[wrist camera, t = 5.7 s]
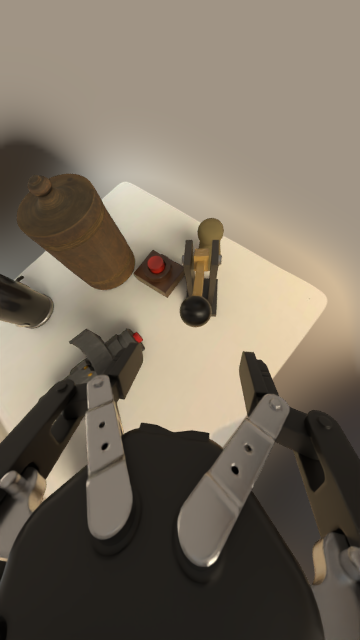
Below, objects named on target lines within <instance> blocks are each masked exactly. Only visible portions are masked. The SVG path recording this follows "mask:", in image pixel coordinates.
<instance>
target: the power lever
mask: <svg viewBox="0 0 360 640" xmlns="http://www.w3.org/2000/svg"><path fill="white" fill-rule="evenodd" d="M208 262H209V249H195V253H194V271H196V274H195V281H194V287H193V294H192V296H190V297H188V298H186V299H185V300H184V301H183V302H182V304H181V307H180V316H181V319H182V320H183V322H184V323H185V324H187V325H188V326H191V327H200V326H203V325H204V324H206V323H207V322H208V321H209V319H210V317H211V313H212V310H211V306H210V303H209V302H208V301H207V300H206V299H205V298H204V297H202V292H203V280H204V271H208Z"/></svg>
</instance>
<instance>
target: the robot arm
mask: <svg viewBox="0 0 360 640" xmlns="http://www.w3.org/2000/svg"><path fill="white" fill-rule="evenodd" d="M23 278H24V276H20V277H19V278H17V279H16V281H14V280H12V279H10V278H8V277H5V276H3V275H1V274H0V321H4V322H8V323H12V324H16V326H19V327H27V328H37V327H40V326H41V325H43V324H44V323H45V322H47V320H48V319H49V318H50V316H51V314H52V312H53V302H52V300H51V299H50V298H49V297H48V296H46V295H44V294H41V293H39V292H37V291H35V290H33V289H31V288H30V287H29V286H27V285H25V284H23V283H21V282H19V281H20V280H22V279H23ZM142 363H143V354H142V348H141V343H138V342H130V343H129V345H128V346H127V348H123V349H121V350H120V351H118V353H117V354H116V355H115V357H114V358H113V359H112V361H111V362H110V363H109V365H108V366H107V368H106V369H105V370H104V372H103V373H102V374H101V375H97V376H95V377H93V378H92V379H90V380H89V382H88V383H82V384H76V385H75V383H74V381H73V380H71V379H66V380H62V381H60V382H58V383H56V384H55V385H54V386H53V387H52V388H51V389H50V390H49V391H48V392H47V393H46V394H45V395H44V396H43V398H42V399H41V400H40V401H39V402H38V403H37V404H36V405H35V406H34V407H33V408H32V410H31V411H30V412H29V413H28V414H27V415H26V416H25V417H24V418H23V419H22V420H21V421H20V423H19V424H18V425H17V426H16V427H15V428H14V429H13V430H12V431H11V432H10V433H9V435H8V436H7V437H6V438H5V439H4V440H3V441H2V442H1V443H0V560H2V561H7V563H6V566H5V569H4V573H3V576H2V579H1V582H0V640H360V459H359V458H358V456H357V454H356V453H355V451H354V449H353V448H352V446H351V444H350V442H349V441H348V439H347V438H346V436H345V434H344V433H343V431H342V429H341V427H340V426H339V424H338V423H337V422H336V421H335V420H334V419H333V418H332V417H331V416H329V415H328V414H326V413H324V412H321V411H317V410H312V411H310V412H309V413H308V414H306V413H303V412H301V411H298V410H295V409H293V408H291V407H289V406H288V404H287V403H286V401H285V400H284V399H282V398H281V397H279V395H278V392H277V390H276V387H275V385H274V382H273V380H272V378H271V375H270V373H269V370H268V368H267V365H266V364H265V363H264V362H263V361H262V360H257V359H256V357H255V354H254V352H244V351H243V352H242V357H241V362H240V367H239V375H240V380H241V385H242V390H243V395H244V400H245V405H246V410H247V415H248V417H249V418H248V419H247V418H246V419H245V420H244V421H243V423H242V424H241V425H240V427H239V428H238V430H237V431H236V433H235V434H234V435H233V437H232V438H231V440H230V441H229V443H228V444H227V446H226V447H225V448H224V449H223V448H222V447H221V446H220V445H219V444H217V443H216V442H214V441H213V440H210V439H209V433H206V432H199V431H193V430H191V431H183V432H171V431H169V430H167V429H165V428H162V427H160V426H158V425H154V424H147V423H141V425H140V428H138V429H134V430H131V431H129V432H127V433H125V434H124V431H123V427H122V423H121V419H120V414H119V410H118V406H117V401H118V400H119V399H125V397H126V395H127V393H128V391H129V389H130V387H131V385H132V383H133V381H134V379H135V377H136V375H137V373H138V371H139V369H140V367H141V365H142ZM60 413H61V414H60ZM58 416H59V417H58ZM84 416H85V417H86V440H87V465H86V466H85V467H83V468H82V469H81V470H80V471H79V472H78V473H76V474H75V475H74V476H73V477H72V478H70V479H69V480H68V481H67V482H66V483H64V484H63V485H62V486H61V487H60V488H59V489H57V490H56V491H55V492H54V493H53V494H51V495H50V496H49V497H48V498H47V499H45V500H44V501H43V502H42V500H43V495H44V493H45V490H46V485H47V484H46V478H47V477H48V475H49V473H50V472H51V470H52V468H53V467H54V465H55V463H56V462H57V460H58V458H59V457H60V455H61V453H62V452H63V450H64V449H65V447H66V445H67V444H68V442H69V440H70V439H71V437H72V435H73V434H74V432H75V430H76V429H77V427H78V425H79V424H80V422H81V420H82V419H83V417H84ZM57 417H58V418H57ZM55 420H56V421H55ZM54 421H55V422H54ZM52 424H53V425H52ZM275 442H277V443H279V444H281V445H283V446H285V447H287V448H289V449H291V450H293V452H294V455H295V458H296V461H297V464H298V467H299V470H300V473H301V477H302V479H303V483H304V486H305V489H306V492H307V496H308V499H309V502H310V505H311V508H312V511H313V514H314V517H315V521H316V523H317V527H318V530H319V533H320V536H321V539H319V540H318V541H317V542H315V544H314V546H313V552H312V553H313V562H314V567H315V577H314V581H313V583H312V585H310V584H309V582H308V579H307V577H306V575H305V573H304V571H303V570H302V568H301V566H300V564H299V563H298V561H297V560H296V558H295V556H294V555H293V553H292V552H291V550H290V549H289V547H288V546H287V544H286V543H285V541H284V540H283V538H282V536H281V535H280V534H279V532H278V531H277V529H276V527H275V526H274V524H273V523H272V521H271V520H270V518H269V516H268V515H267V513H266V512H265V510H264V509H263V507H262V506H261V504H260V503H259V501H258V499H257V498H256V496H255V495H254V493H253V492H252V488H253V486H254V484H255V482H256V480H257V478H258V476H259V474H260V472H261V470H262V468H263V466H264V464H265V462H266V459H267V457H268V455H269V453H270V451H271V449H272V447H273V445H274V443H275Z"/></svg>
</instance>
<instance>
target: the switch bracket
mask: <svg viewBox="0 0 360 640" xmlns="http://www.w3.org/2000/svg"><path fill="white" fill-rule="evenodd" d="M221 258H222V256H221V255H219V240H212V252H211V264H210V276H209V279H204V280H203V292H202V297H204V298H205V299H206V300H207V301H208V302H209V303H210V306H211V310H212V313H211V316H216V309H217V282H218V279H216V277H217V271H218V265H221ZM182 264H183V266H184V271H185V277H186V283H187V297H186V298H188V297H190V296H192V294H193V287H194V281H195V271H194V256H193V242H192V240H186V244H185V254H184V255H182Z"/></svg>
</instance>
